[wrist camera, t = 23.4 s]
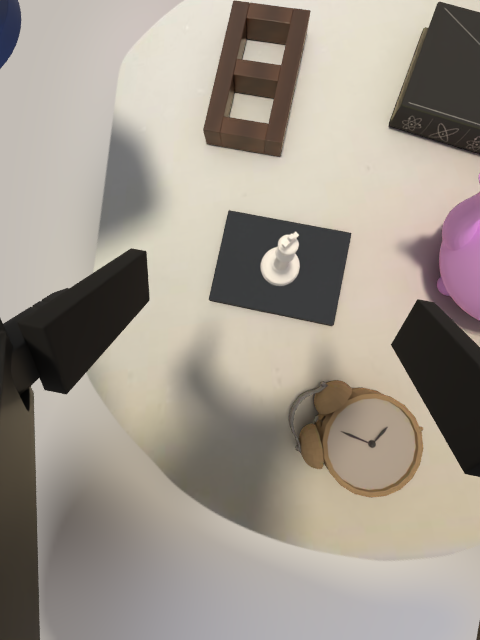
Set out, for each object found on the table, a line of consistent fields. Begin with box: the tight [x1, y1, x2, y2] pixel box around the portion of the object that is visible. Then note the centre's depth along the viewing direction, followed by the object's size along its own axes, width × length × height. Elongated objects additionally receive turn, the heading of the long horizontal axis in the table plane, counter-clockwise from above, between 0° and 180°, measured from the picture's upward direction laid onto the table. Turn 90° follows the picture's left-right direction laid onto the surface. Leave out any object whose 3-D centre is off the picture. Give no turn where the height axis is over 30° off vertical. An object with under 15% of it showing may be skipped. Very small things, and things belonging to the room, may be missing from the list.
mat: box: [209, 211, 351, 326], centre depth 34 cm, size 16×12×1 cm
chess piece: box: [260, 232, 300, 286], centre depth 28 cm, size 5×5×10 cm
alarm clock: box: [289, 380, 423, 497], centre depth 31 cm, size 11×5×15 cm
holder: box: [203, 1, 310, 156], centre depth 35 cm, size 10×18×2 cm, turn 168°
